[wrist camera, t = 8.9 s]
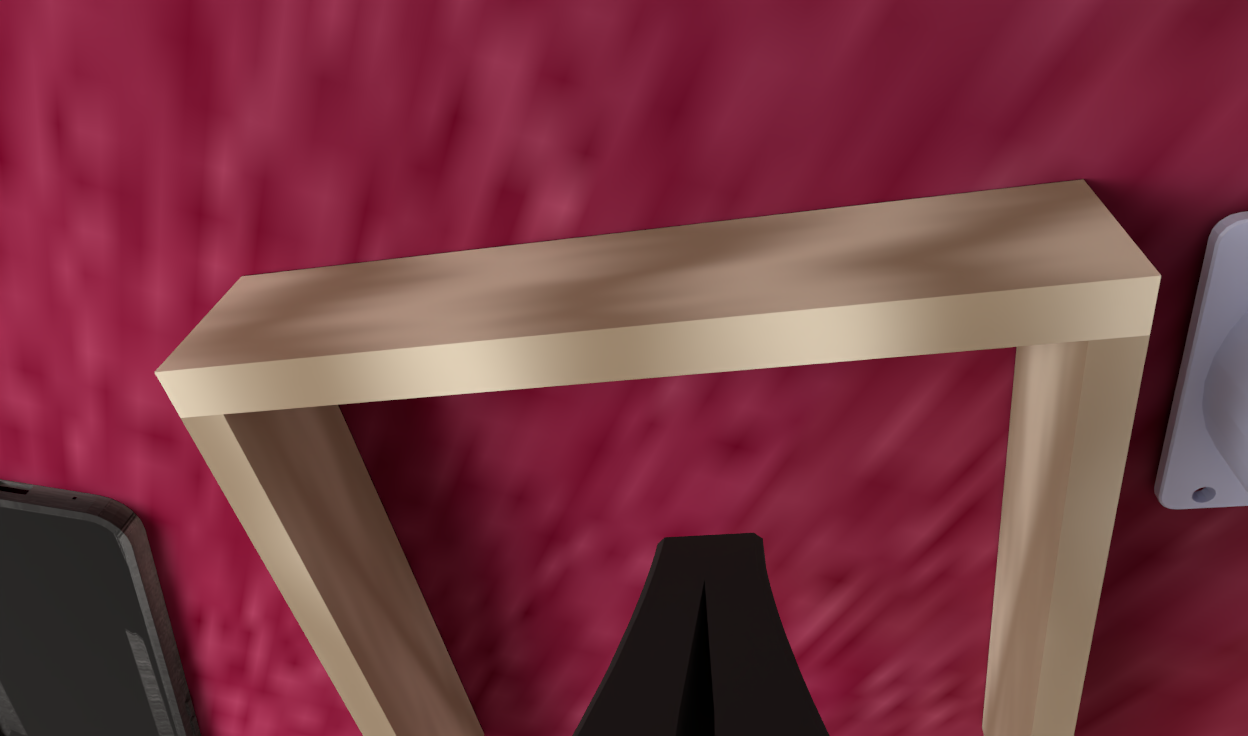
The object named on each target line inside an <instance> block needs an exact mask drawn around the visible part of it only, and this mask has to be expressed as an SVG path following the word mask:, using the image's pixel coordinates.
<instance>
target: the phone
mask: <svg viewBox="0 0 1248 736" xmlns="http://www.w3.org/2000/svg"><path fill="white" fill-rule="evenodd" d="M0 486H5V487H11V488H17V489H23V490H29V492H28V493H27V494H26V495H23V494H17V493H10V492H4V491H0V736H201V734H200V730H199V726H198V722H197V719H196V715H195V711H194V708H193V704H192V700H191V697H190V693H189V689H188V686H187V682H186V678H185V675H184V671H183V667H182V663H181V660H180V656H179V652H178V649H177V645H176V641H175V638H174V634H173V630H172V627H171V623H170V619H169V616H168V612H167V608H166V604H165V601H164V597H163V593H162V590H161V586H160V582H159V579H158V575H157V571H156V568H155V564H154V560H153V556H152V553H151V549H150V545H149V542H148V538H147V534H146V531H145V528H144V526H143V524H142V521H141V520H140V519H139V517H138V516H137V515H136V514H135V513H134V512H133V511H132V510H130V509H129V508H128V507H126V506H125V505H124V504H122V503H120V502H118V501H115V500H113V499H111V498H107V497H104V496H100V495H94V494H88V493H82V492H75V491H69V490H63V489H57V488H51V487H44V486H38V485H32V484H26V483H20V482H13V481H7V480H1V479H0ZM73 497H77V498H76V499H75V500H74V499H72V498H73Z"/></svg>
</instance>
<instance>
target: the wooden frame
mask: <svg viewBox="0 0 1248 736" xmlns="http://www.w3.org/2000/svg"><path fill="white" fill-rule="evenodd" d="M1160 279H1161V275H1160V273H1159V272H1158V271H1157V270H1156V268H1155V267H1154V266H1153V265H1152V263H1151V262H1150V261H1149V260H1148V259H1147V257H1146V256H1145V255H1144V254H1143V252H1142V251H1141V250H1140V249H1139V247H1138V246H1137V245H1136V244H1135V243H1134V241H1133V240H1132V239H1131V238H1130V236H1129V235H1128V234H1127V233H1126V231H1125V230H1124V229H1123V228H1122V226H1121V225H1120V224H1119V223H1118V222H1117V220H1116V219H1115V218H1114V217H1113V215H1112V214H1111V213H1110V212H1109V210H1108V209H1107V208H1106V207H1105V205H1104V204H1103V203H1102V202H1101V201H1100V199H1099V198H1098V197H1097V196H1096V194H1095V193H1094V192H1093V191H1092V189H1091V188H1090V187H1089V186H1088V184H1087V183H1086V182H1085V181H1084V180H1083V179H1082V180H1074V181H1065V182H1056V183H1048V184H1039V185H1030V186H1022V187H1013V188H1004V189H996V190H987V191H978V192H970V193H961V194H952V195H944V196H935V197H926V198H918V199H909V200H900V201H892V202H883V203H874V204H866V205H857V206H848V207H840V208H831V209H822V210H814V211H805V212H796V213H788V214H779V215H770V216H762V217H753V218H744V219H736V220H727V221H718V222H710V223H701V224H692V225H684V226H675V227H666V228H658V229H649V230H640V231H632V232H623V233H614V234H606V235H597V236H588V237H580V238H571V239H562V240H554V241H545V242H536V243H528V244H519V245H510V246H502V247H493V248H484V249H475V250H467V251H458V252H449V253H441V254H432V255H423V256H415V257H406V258H397V259H389V260H380V261H371V262H363V263H354V264H345V265H337V266H328V267H319V268H311V269H302V270H293V271H285V272H276V273H267V274H259V275H250V276H241V277H240V279H239V280H238V281H237V282H236V283H235V284H234V285H233V286H232V287H231V289H230V290H229V291H228V292H227V293H226V294H225V295H224V296H223V297H222V298H221V300H220V301H219V302H218V303H217V304H216V305H215V306H214V307H213V308H212V309H211V311H210V312H209V313H208V314H207V315H206V316H205V317H204V318H203V319H202V320H201V322H200V323H199V324H198V325H197V326H196V327H195V328H194V329H193V330H192V331H191V333H190V334H189V335H188V336H187V337H186V338H185V339H184V340H183V341H182V342H181V344H180V345H179V346H178V347H177V348H176V349H175V350H174V351H173V352H172V353H171V355H170V356H169V357H168V358H167V359H166V360H165V361H164V362H163V363H162V364H161V366H160V367H159V368H158V369H157V370H156V371H155V374H156V376H157V378H158V379H159V381H160V383H161V385H162V386H163V388H164V390H165V392H166V393H167V395H168V397H169V399H170V400H171V402H172V404H173V405H174V407H175V409H176V411H177V412H178V414H179V416H180V418H181V419H182V421H183V423H184V425H185V426H186V428H187V430H188V432H189V433H190V435H191V437H192V439H193V440H194V442H195V444H196V445H197V447H198V449H199V451H200V452H201V454H202V456H203V458H204V459H205V461H206V463H207V465H208V466H209V468H210V470H211V472H212V473H213V475H214V477H215V479H216V480H217V482H218V484H219V486H220V487H221V489H222V491H223V492H224V494H225V496H226V498H227V499H228V501H229V503H230V505H231V506H232V508H233V510H234V512H235V513H236V515H237V517H238V519H239V520H240V522H241V524H242V526H243V527H244V529H245V531H246V533H247V534H248V536H249V538H250V539H251V541H252V543H253V545H254V546H255V548H256V550H257V552H258V553H259V555H260V557H261V559H262V560H263V562H264V564H265V566H266V567H267V569H268V571H269V573H270V574H271V576H272V578H273V579H274V581H275V583H276V585H277V586H278V588H279V590H280V592H281V593H282V595H283V597H284V599H285V600H286V602H287V604H288V606H289V607H290V609H291V611H292V613H293V614H294V616H295V618H296V620H297V621H298V623H299V625H300V626H301V628H302V630H303V632H304V633H305V635H306V637H307V639H308V640H309V642H310V644H311V646H312V647H313V649H314V651H315V653H316V654H317V656H318V658H319V660H320V661H321V663H322V665H323V667H324V668H325V670H326V672H327V673H328V675H329V677H330V679H331V680H332V682H333V684H334V686H335V687H336V689H337V691H338V693H339V694H340V696H341V698H342V700H343V701H344V703H345V705H346V707H347V708H348V710H349V712H350V714H351V715H352V717H353V719H354V720H355V722H356V724H357V726H358V727H359V729H360V731H361V733H362V734H363V736H484V733H483V730H482V728H481V726H480V724H479V721H478V719H477V717H476V715H475V712H474V710H473V708H472V706H471V703H470V701H469V699H468V697H467V694H466V692H465V690H464V688H463V685H462V683H461V681H460V679H459V676H458V674H457V672H456V670H455V667H454V665H453V663H452V661H451V658H450V656H449V654H448V652H447V649H446V647H445V645H444V643H443V640H442V638H441V636H440V634H439V631H438V629H437V627H436V625H435V622H434V620H433V618H432V616H431V613H430V611H429V609H428V607H427V604H426V602H425V600H424V598H423V595H422V593H421V591H420V589H419V586H418V584H417V582H416V580H415V577H414V575H413V573H412V570H411V568H410V566H409V564H408V561H407V559H406V557H405V555H404V552H403V550H402V548H401V546H400V543H399V541H398V539H397V537H396V534H395V532H394V530H393V528H392V525H391V523H390V521H389V519H388V516H387V514H386V512H385V510H384V507H383V505H382V503H381V501H380V498H379V496H378V494H377V492H376V489H375V487H374V485H373V483H372V480H371V478H370V476H369V474H368V471H367V469H366V467H365V465H364V462H363V460H362V458H361V456H360V453H359V451H358V449H357V447H356V444H355V442H354V440H353V438H352V435H351V433H350V431H349V429H348V426H347V424H346V422H345V420H344V417H343V415H342V413H341V410H340V408H339V406H338V405H339V404H350V403H362V402H374V401H386V400H397V399H409V398H421V397H432V396H444V395H456V394H468V393H479V392H491V391H503V390H514V389H526V388H538V387H550V386H561V385H573V384H585V383H596V382H608V381H620V380H632V379H643V378H655V377H667V376H678V375H690V374H702V373H713V372H725V371H737V370H749V369H760V368H772V367H784V366H795V365H807V364H819V363H831V362H842V361H854V360H866V359H877V358H889V357H901V356H913V355H924V354H936V353H948V352H959V351H971V350H983V349H995V348H1006V347H1017V349H1016V360H1015V371H1014V382H1013V393H1012V404H1011V415H1010V426H1009V437H1008V448H1007V459H1006V470H1005V481H1004V492H1003V503H1002V514H1001V525H1000V536H999V547H998V558H997V569H996V580H995V591H994V602H993V613H992V624H991V635H990V646H989V657H988V668H987V679H986V690H985V701H984V712H983V723H982V729H983V733H984V736H1074V731H1075V726H1076V721H1077V716H1078V710H1079V705H1080V700H1081V695H1082V689H1083V684H1084V679H1085V674H1086V668H1087V663H1088V658H1089V653H1090V647H1091V642H1092V637H1093V632H1094V626H1095V621H1096V616H1097V610H1098V605H1099V600H1100V595H1101V589H1102V584H1103V579H1104V574H1105V568H1106V563H1107V558H1108V553H1109V547H1110V542H1111V537H1112V532H1113V526H1114V521H1115V516H1116V511H1117V505H1118V500H1119V495H1120V490H1121V484H1122V479H1123V474H1124V469H1125V463H1126V458H1127V453H1128V447H1129V442H1130V437H1131V432H1132V426H1133V421H1134V416H1135V411H1136V405H1137V400H1138V395H1139V390H1140V384H1141V379H1142V374H1143V369H1144V363H1145V358H1146V353H1147V348H1148V342H1149V337H1150V332H1151V327H1152V321H1153V316H1154V311H1155V306H1156V300H1157V295H1158V290H1159V284H1160Z"/></svg>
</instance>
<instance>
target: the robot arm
mask: <svg viewBox="0 0 1248 736" xmlns="http://www.w3.org/2000/svg"><path fill="white" fill-rule="evenodd" d="M1203 487H1206V488H1204V489H1202V490H1200V491H1196V490H1198V489H1199V488H1203ZM1194 491H1196V492H1194ZM1154 493H1155V495H1156V497H1157V499H1158V500H1159V502H1160V503H1161V504H1162V506H1164V507H1166V508H1169V509H1195V508H1214V507H1232V506H1248V211H1246V212H1239V213H1235V214H1232V215H1229V216H1227V217H1225V218H1224V219H1222V220H1220V221H1219V222H1218V223H1217V224H1216V225H1215V226H1214V228H1213V229H1212V231H1211V233H1210V235H1209V238H1208V243H1207V247H1206V252H1205V256H1204V261H1203V266H1202V270H1201V275H1200V279H1199V284H1198V288H1197V293H1196V298H1195V302H1194V307H1193V311H1192V316H1191V321H1190V325H1189V330H1188V334H1187V339H1186V343H1185V348H1184V353H1183V357H1182V362H1181V366H1180V371H1179V375H1178V380H1177V385H1176V389H1175V394H1174V398H1173V403H1172V408H1171V412H1170V417H1169V421H1168V426H1167V430H1166V435H1165V440H1164V444H1163V449H1162V453H1161V458H1160V463H1159V467H1158V472H1157V476H1156V481H1155V485H1154ZM572 736H829V734H828V732H827V730H826V728H825V725H824V723H823V721H822V719H821V717H820V715H819V713H818V710H817V708H816V706H815V704H814V702H813V700H812V698H811V695H810V693H809V691H808V688H807V686H806V684H805V682H804V679H803V677H802V675H801V672H800V670H799V667H798V664H797V662H796V659H795V657H794V654H793V652H792V649H791V647H790V644H789V642H788V639H787V637H786V634H785V631H784V628H783V625H782V623H781V620H780V617H779V614H778V610H777V607H776V604H775V601H774V597H773V594H772V591H771V587H770V583H769V579H768V575H767V570H766V563H765V555H764V546H763V539H762V538H761V537H759V536H758V535H756V534H755V533H741V534H722V535H703V536H685V537H666V538H664V539H663V540H662V541H660V542H659V543H658V545H657V549H656V552H655V556H654V559H653V562H652V565H651V568H650V571H649V574H648V577H647V579H646V582H645V585H644V588H643V590H642V593H641V595H640V598H639V600H638V603H637V605H636V608H635V610H634V612H633V615H632V617H631V620H630V622H629V624H628V627H627V629H626V631H625V633H624V635H623V637H622V640H621V642H620V644H619V646H618V648H617V650H616V653H615V655H614V657H613V659H612V661H611V663H610V666H609V668H608V670H607V672H606V674H605V676H604V678H603V680H602V682H601V684H600V685H599V687H598V689H597V691H596V693H595V695H594V697H593V699H592V700H591V702H590V704H589V706H588V708H587V710H586V712H585V714H584V715H583V717H582V719H581V721H580V723H579V725H578V727H577V728H576V730H575V732H574V734H573V735H572Z"/></svg>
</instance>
